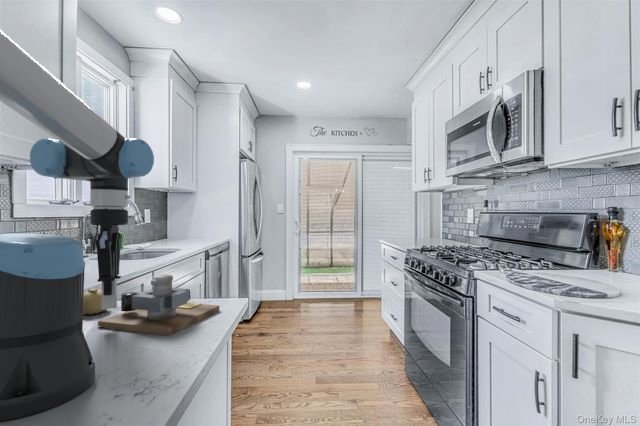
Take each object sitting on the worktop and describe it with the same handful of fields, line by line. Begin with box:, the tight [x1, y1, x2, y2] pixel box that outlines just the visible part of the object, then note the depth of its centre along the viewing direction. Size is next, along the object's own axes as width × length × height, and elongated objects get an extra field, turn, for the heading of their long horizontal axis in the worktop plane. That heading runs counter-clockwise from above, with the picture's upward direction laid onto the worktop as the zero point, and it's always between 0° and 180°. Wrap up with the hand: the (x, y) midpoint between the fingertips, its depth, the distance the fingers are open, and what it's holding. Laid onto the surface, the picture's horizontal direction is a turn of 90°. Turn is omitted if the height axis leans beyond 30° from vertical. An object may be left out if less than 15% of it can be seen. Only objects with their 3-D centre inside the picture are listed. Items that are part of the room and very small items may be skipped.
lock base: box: [97, 274, 220, 337], centre depth 84 cm, size 20×20×12 cm
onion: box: [83, 287, 108, 315], centre depth 89 cm, size 8×8×7 cm
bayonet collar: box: [120, 287, 191, 312], centre depth 82 cm, size 17×10×5 cm, turn 75°
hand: (109, 307), depth 77 cm, fingers closed
